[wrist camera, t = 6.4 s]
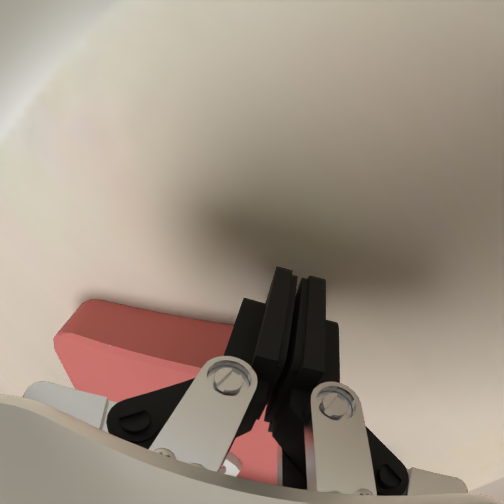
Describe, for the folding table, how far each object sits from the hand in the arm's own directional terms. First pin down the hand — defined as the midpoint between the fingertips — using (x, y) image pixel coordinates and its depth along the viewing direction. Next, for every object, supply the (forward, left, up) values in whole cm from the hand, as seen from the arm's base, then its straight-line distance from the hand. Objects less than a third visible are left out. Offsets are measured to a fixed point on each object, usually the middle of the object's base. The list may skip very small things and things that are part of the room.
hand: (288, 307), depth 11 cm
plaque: (+2, +12, -2) cm, 12 cm away
